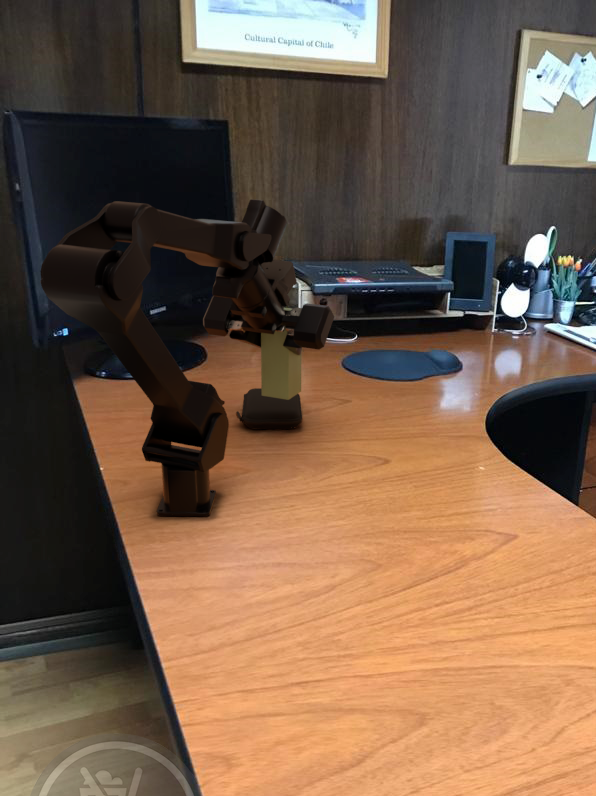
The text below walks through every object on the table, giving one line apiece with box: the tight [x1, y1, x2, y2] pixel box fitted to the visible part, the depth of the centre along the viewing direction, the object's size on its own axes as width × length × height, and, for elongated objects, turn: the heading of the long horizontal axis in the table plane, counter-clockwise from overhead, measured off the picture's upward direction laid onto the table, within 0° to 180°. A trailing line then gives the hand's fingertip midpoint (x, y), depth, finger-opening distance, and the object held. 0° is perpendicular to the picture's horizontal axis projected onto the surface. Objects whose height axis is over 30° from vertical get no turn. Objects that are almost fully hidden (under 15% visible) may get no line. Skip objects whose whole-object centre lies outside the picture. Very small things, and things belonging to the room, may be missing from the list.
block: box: [260, 307, 303, 400], centre depth 118 cm, size 5×5×13 cm
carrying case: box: [235, 387, 303, 430], centre depth 129 cm, size 11×3×15 cm
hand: (285, 350), depth 119 cm, fingers closed on block, 4 cm apart
